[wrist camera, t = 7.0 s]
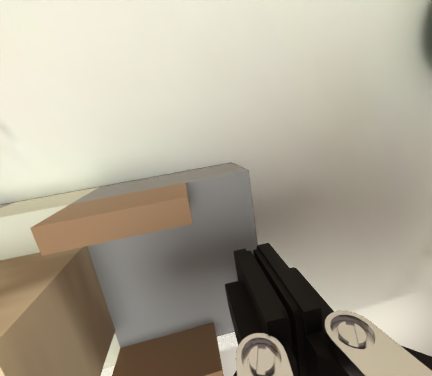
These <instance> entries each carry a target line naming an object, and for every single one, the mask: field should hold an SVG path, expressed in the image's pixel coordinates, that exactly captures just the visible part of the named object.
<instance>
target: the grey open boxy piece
mask: <svg viewBox="0 0 432 376" xmlns="http://www.w3.org/2000/svg"><path fill="white" fill-rule="evenodd" d="M257 245H258V244H257V236H256V228H255V220H254V211H253V203H252V195H251V187H250V179H249V171H248V170H246V169H244V168H242V167H240V166H238V165H235V164H233V163H227V164H221V165H216V166H210V167H205V168H199V169H194V170H188V171H183V172H177V173H172V174H167V175H161V176H156V177H150V178H145V179H139V180H134V181H128V182H123V183H117V184H112V185H106V186H101V187H95V188H90V189H84V190H79V191H74V192H68V193H63V194H57V195H52V196H46V197H41V198H35V199H30V200H24V201H19V202H13V203H8V204H2V205H0V260H5V259H10V258H15V257H20V256H25V255H29V254H34V253H39V252H40V253H41V256H43V255H48V254H53V253H57V252H62V251H67V250H71V249H76V248H81V247H85V246H87V247H88V250H89V253H90V256H91V259H92V262H93V265H94V268H95V271H96V274H97V277H98V280H99V283H100V286H101V289H102V292H103V295H104V298H105V301H106V304H107V307H108V310H109V313H110V316H111V319H112V322H113V325H114V328H115V334H114V336H113V339H112V342H111V345H110V348H109V351H108V354H107V357H106V360H105V363H104V366H103V368H107V367H111V366H114V365H115V368H114V371H113V375H112V376H223V370H222V364H221V359H220V353H219V348H218V342H217V336H221V335H224V334H228V333H231V332H235V331H234V327H233V323H232V319H231V315H230V311H229V306H228V301H227V296H226V290H225V284H227V283H231V282H235V281H238V278H237V271H236V265H235V259H234V251H235V250H240V249H244V248H245V249H246V250H247V251H251V252H252V254H253V250H254V249H257ZM253 255H254V254H253Z"/></svg>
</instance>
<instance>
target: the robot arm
mask: <svg viewBox="0 0 432 376" xmlns="http://www.w3.org/2000/svg"><path fill="white" fill-rule="evenodd" d="M253 254H254V255H253ZM253 254H252V252H251V251H247V250H246V249H245V248H244V249H240V250H235V251H234V259H235V265H236V271H237V278H238V281H235V282H231V283H227V284H225V290H226V296H227V301H228V306H229V311H230V315H231V319H232V323H233V327H234V331H235V334H236V338H237V342H238V348H237V351H236V366H237V367H236V368H237V370H236V373H235V374H234V376H432V357H431V356H428V355H425V354H422V353H420V352H417V351H414V350H411V349H409V348H406V347H403V346H400V345H399V344H398V343H396V342H395V341H394V340H392V339H391V338H390V337H389V336H388V335H387V334H385V333H384V332H383V331H382V330H380V329H379V328H378V327H377V326H375V325H374V324H373V323H372V322H370V321H369V320H367V319H366V318H364V317H363V316H360V315H358V314H356V313H353V312H349V311H336V312H334V311H333V310H332V309H331V308H330V306H329V305H328V304H327V303H326V302H325V301H324V300H323V298H322V297H321V296H320V295H319V294H318V293H317V292H316V290H315V289H314V288H313V287H312V286H311V285H310V283H309V282H308V281H307V280H306V279H305V278H304V277H303V275H302V274H301V273H300V272H299V271H298V270H297V269H296V268H294V267H293V268H289V267H288V266H287V265H286V264H285V262H284V261H283V260H282V259H281V257H280V256H279V255H278V254H277V253H276V251H275V250H274V249H273V248H272V246H271V245H270V244H269V243H266V244H262V245H257V249H254V250H253Z"/></svg>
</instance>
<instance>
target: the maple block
mask: <svg viewBox="0 0 432 376" xmlns="http://www.w3.org/2000/svg"><path fill="white" fill-rule="evenodd" d="M114 334H115V328H114V325H113V322H112V319H111V316H110V313H109V310H108V307H107V304H106V301H105V298H104V295H103V292H102V289H101V286H100V283H99V280H98V277H97V274H96V271H95V268H94V265H93V262H92V259H91V256H90V253H89V250H88V247H87V246H85V247H81V248H76V249H71V250H67V251H62V252H57V253H53V254H48V255H43V256H41V253H40V252H39V253H34V254H29V255H25V256H20V257H15V258H10V259H5V260H0V376H100V375H101V372H102V369H103V366H104V363H105V360H106V357H107V354H108V351H109V348H110V345H111V342H112V339H113V336H114Z"/></svg>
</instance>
